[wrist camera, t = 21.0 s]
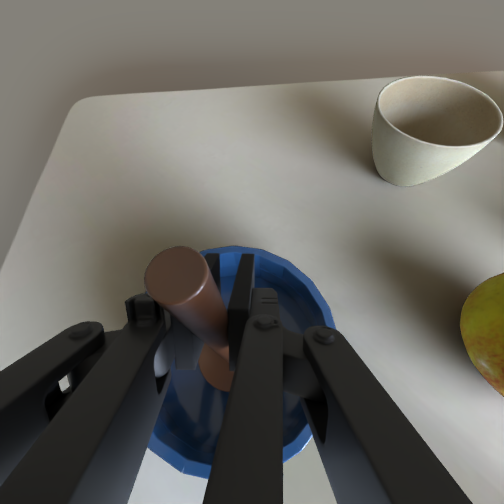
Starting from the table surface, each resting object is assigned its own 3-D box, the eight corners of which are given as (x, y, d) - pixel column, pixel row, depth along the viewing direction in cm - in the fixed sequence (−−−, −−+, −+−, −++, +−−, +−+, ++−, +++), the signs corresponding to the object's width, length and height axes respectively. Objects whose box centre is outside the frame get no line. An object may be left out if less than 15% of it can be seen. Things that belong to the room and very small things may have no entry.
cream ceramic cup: (445, 145, 30) (494, 80, 24) (451, 214, 26) (514, 156, 19) (356, 132, 32) (380, 68, 25) (348, 195, 27) (374, 136, 21)
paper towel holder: (204, 397, 18) (33, 422, 4) (200, 326, 20) (80, 200, 7) (273, 385, 18) (312, 376, 5) (262, 316, 20) (266, 176, 7)
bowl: (147, 473, 17) (107, 504, 12) (153, 284, 23) (128, 260, 19) (345, 438, 17) (373, 455, 13) (299, 263, 24) (308, 234, 19)
